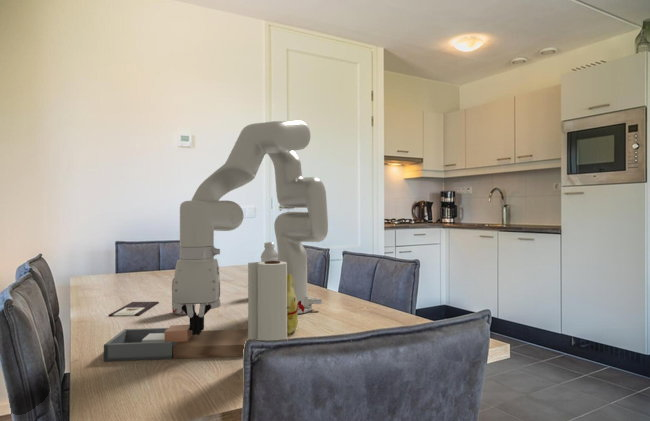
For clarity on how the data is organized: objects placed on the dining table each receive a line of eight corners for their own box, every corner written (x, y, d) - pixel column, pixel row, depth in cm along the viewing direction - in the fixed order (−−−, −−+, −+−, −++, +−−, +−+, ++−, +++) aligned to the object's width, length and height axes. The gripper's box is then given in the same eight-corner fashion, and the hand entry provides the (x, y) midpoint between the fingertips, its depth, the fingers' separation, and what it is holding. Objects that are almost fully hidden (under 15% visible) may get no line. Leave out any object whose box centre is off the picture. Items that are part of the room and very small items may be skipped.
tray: (184, 341, 102) (184, 327, 103) (171, 358, 91) (171, 342, 91) (124, 343, 101) (124, 329, 101) (103, 361, 89) (103, 344, 89)
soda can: (188, 316, 127) (188, 276, 127) (167, 315, 129) (167, 276, 129) (199, 310, 134) (199, 273, 134) (179, 309, 136) (179, 272, 136)
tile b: (171, 343, 99) (171, 333, 99) (164, 350, 94) (164, 339, 94) (149, 344, 99) (149, 333, 99) (141, 351, 94) (141, 339, 94)
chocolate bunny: (277, 336, 107) (276, 277, 107) (280, 324, 118) (280, 271, 118) (303, 336, 107) (303, 277, 107) (304, 324, 118) (304, 271, 118)
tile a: (193, 334, 99) (192, 324, 99) (187, 341, 94) (187, 330, 94) (171, 336, 99) (171, 325, 99) (164, 342, 94) (164, 331, 94)
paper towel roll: (293, 364, 87) (293, 261, 87) (271, 373, 82) (270, 264, 82) (270, 356, 92) (270, 259, 92) (248, 364, 87) (247, 261, 87)
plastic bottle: (259, 294, 161) (259, 242, 161) (276, 293, 163) (276, 241, 163) (261, 297, 155) (261, 243, 155) (279, 296, 157) (279, 243, 157)
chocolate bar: (158, 301, 146) (138, 314, 128) (158, 304, 146) (138, 317, 128) (132, 301, 146) (108, 314, 128) (132, 304, 146) (108, 317, 128)
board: (251, 339, 104) (251, 329, 104) (248, 355, 92) (248, 344, 92) (185, 341, 103) (185, 331, 103) (173, 358, 91) (173, 347, 91)
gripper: (231, 252, 102) (231, 327, 101) (167, 252, 100) (167, 330, 100) (228, 255, 94) (228, 337, 94) (158, 256, 92) (158, 339, 92)
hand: (196, 333), depth 97 cm, fingers closed
